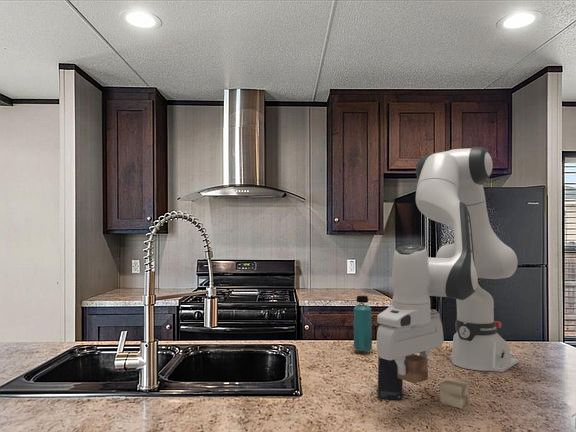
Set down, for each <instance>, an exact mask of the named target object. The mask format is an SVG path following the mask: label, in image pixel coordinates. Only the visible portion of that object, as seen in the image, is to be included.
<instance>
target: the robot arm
mask: <svg viewBox="0 0 576 432" xmlns="http://www.w3.org/2000/svg"><path fill="white" fill-rule="evenodd" d="M415 166H416V167H415V175H416V179H417V185H416V189H415V190H416V192H415V204H416V207H417V209H418V210H419V212H420V213H421V214H422V215H424V216H425V217H426V218H428V219H429V220H432V221H434V222H437V223H440V224H443V225H445V226H448V227H450V228H451V229H453V239H454V241H453V243H450V244H444V245H442V246H441V247H439V249H438V250H437V252H436V256H435V257H431V256H428V251H427V248H426V247H425V246H423V245H419V244H407V245H401V246H399V247H397V248H395V249H394V253H393V257H392V266H391V284H392V288H393V296H392V299H391V300H392V302H391V305H389V306H388V307H387V308H386V309H384V310H383V311H382V312H380V313H378V315H377V317H376V321H377V323H378V324H379V326H378V327H377V331H376V332H377V333H376V351H377V356H378V355H379V356H380V357H381V358H383V359H386V360H395V362H396V364H397V365H398V372H399V374H401V375H406V374H408V367H407V366H405V364H404V361H405V356H409V355H412V354H415V355H417V354H419V356H422V357H425V358H429V356H430V350H431V351H432V350H435V349H437V348H438V349H439V348H441V347H442V346H443V344H444V341H445V340H444V329H443V323H442V320H441V317H440V316H441V315H440V313H439V311H437V310H436V309H434V308H433V309H431V297H443V298H449V299H454V300H456V319H455V324H454V325H455V331H456V332H455V333H454V335H453V338H452V339H453V340H452V352H451V354H449V359H450V360H451V362H452V363H451V364H453V365H454V366H457V367H459V368H462V369H467V370H472V371H481V372H483V371H484V372H499V373H503V372H506V371H507V370H509V369H510V368H512V367H514V366H515V365H517V364H518V363H519V360H518V359H517V358H515V357H512V356H511V351H510V350H511V348H510V345H509V343H508V342H507V341H506V340H505V339H504V338H502V336H501V335H500V334H499V333H498V329H501V328H502V322H501V321H497V320H494V319H495V318H494V317H495V315H494V313H495V312H494V311H495V310H494V307H495V306H494V304H495V303H494V297H493V296H492V295H491V294H490V292H489V291H487V290H485V289H484V288H482V287H481V286H480V284H479V283H478V281H479V279H491V280H499V279H507V278H510V277H512V276H513V275H514V274H515V273H516V271H517V268H518V264H519V263H518V256H517V254H516V252H515V251H514V250H513V248H511V247H510V246H508V245H507V244H505V243H504V242H503V241H502V240H501V239H500V238H499V237H498V236H497V234H496V233H495V232H494V230H493V228H492V226H491V223H490V219H489V213H488V209H487V201H486V194H485V189H484V185H483V184H484V183H485V182H486V181H488V180H489V178H491V176H492V174H493V173H492V172H493V166H494V165H493V159H492V157H491V153H490V152H489V150H487V149H486V148H485V147H479V146H473V147H471V148H456V149H454V148H453V149H450V150H446V151H441V152H436V153H435V152H434V153H430V154H426V155H423V156H422V157H420V159H419V160H418V161H417V163H416V165H415ZM430 296H431V297H430ZM497 328H498V329H497Z"/></svg>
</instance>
